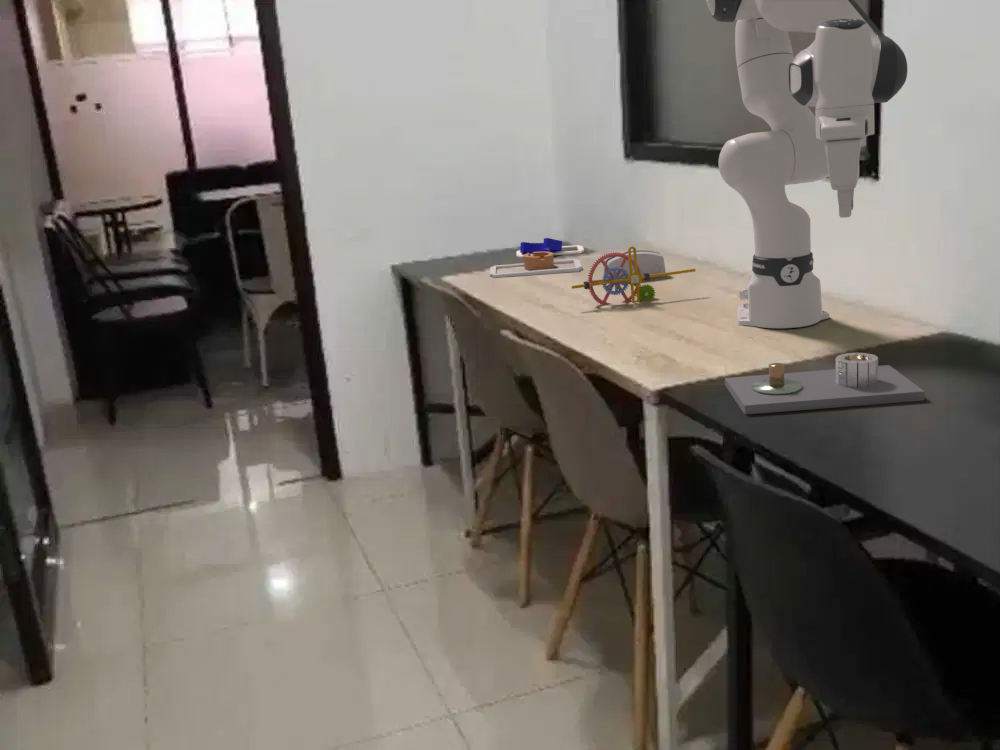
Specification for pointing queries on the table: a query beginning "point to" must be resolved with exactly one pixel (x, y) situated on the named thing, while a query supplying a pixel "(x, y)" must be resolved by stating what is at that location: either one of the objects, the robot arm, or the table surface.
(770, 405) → the board
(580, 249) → the bin
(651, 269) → the grey rounded block
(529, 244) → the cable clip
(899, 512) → the table surface
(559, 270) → the bin
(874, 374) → the steel ring
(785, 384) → the post
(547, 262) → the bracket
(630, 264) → the mechanical gear assembly
